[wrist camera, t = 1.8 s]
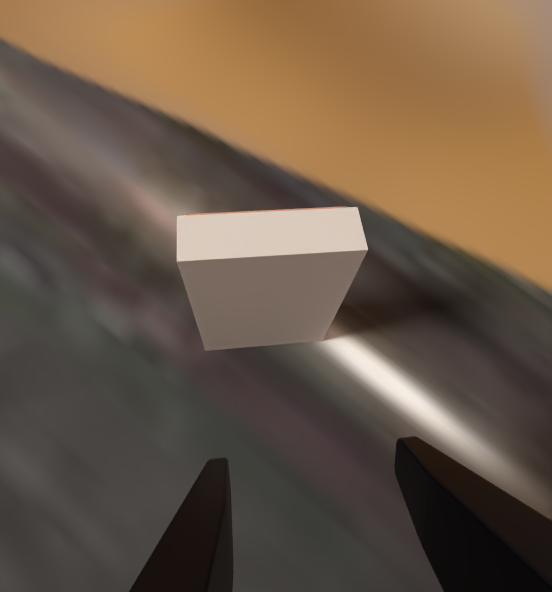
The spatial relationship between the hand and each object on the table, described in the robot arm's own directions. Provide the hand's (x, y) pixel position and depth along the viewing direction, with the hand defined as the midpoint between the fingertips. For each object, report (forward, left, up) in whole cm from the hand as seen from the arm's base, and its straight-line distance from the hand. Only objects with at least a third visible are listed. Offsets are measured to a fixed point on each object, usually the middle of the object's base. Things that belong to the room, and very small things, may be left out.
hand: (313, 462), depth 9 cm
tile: (+8, -2, -13) cm, 15 cm away
